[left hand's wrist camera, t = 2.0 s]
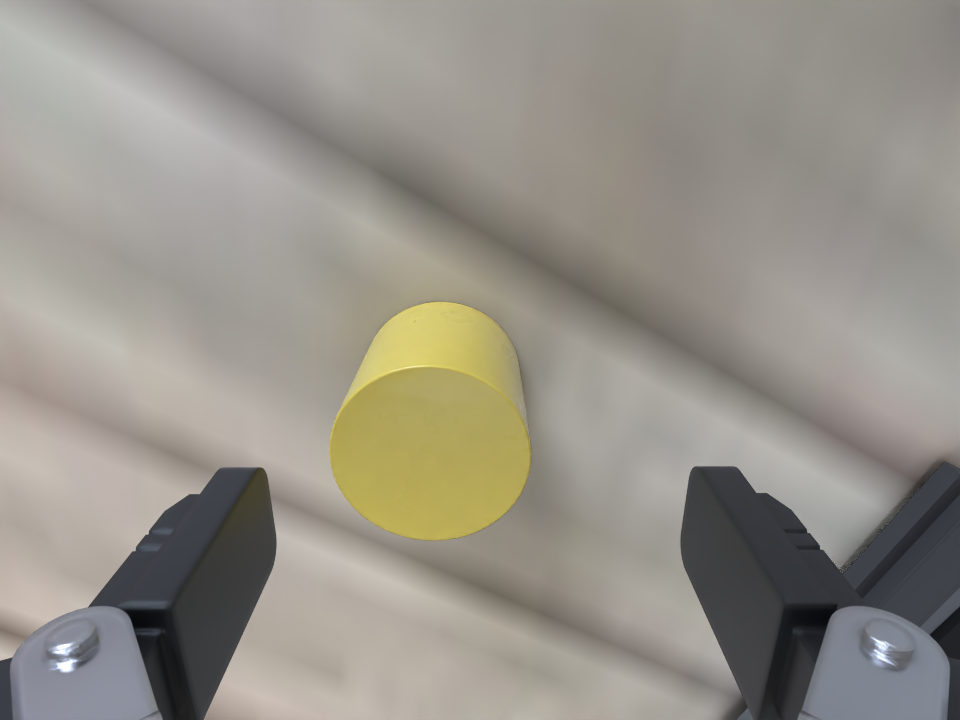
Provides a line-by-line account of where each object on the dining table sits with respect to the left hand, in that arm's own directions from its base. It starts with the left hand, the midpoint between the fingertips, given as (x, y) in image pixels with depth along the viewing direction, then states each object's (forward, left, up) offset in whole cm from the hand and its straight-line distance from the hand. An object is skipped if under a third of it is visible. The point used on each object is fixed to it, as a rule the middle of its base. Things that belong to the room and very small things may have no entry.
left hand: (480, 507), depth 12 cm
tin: (-1, -1, -6) cm, 6 cm away
